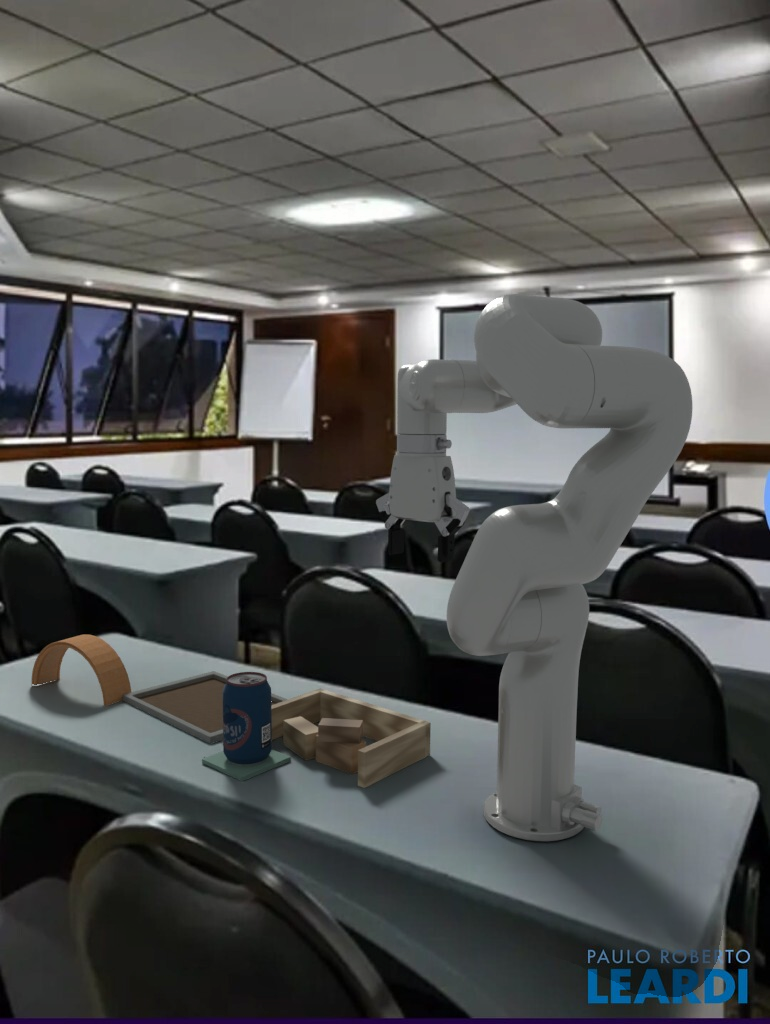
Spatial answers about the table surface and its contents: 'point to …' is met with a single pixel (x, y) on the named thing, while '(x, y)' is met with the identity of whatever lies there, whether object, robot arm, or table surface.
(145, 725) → the table surface
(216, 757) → the mat
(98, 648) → the arch
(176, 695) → the framed cork board
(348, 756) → the offcut
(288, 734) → the offcut
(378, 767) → the enclosure
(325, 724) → the offcut top
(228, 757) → the soda can
